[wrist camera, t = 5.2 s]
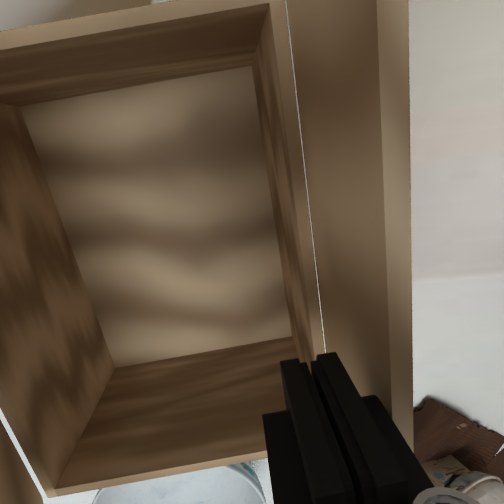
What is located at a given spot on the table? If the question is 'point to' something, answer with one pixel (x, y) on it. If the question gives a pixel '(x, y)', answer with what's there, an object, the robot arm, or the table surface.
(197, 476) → the chinaware
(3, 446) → the back flap
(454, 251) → the table surface
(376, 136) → the front flap
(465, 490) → the potted plant
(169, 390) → the carton
